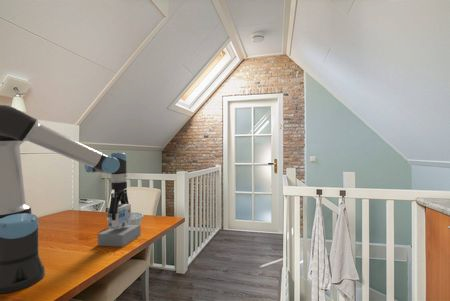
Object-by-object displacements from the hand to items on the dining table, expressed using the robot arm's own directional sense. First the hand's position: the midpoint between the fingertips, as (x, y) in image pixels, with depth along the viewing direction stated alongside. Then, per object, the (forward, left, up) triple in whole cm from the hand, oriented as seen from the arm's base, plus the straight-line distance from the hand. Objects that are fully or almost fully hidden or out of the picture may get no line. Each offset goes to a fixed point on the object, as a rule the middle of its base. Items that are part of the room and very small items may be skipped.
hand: (119, 222), depth 124 cm
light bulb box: (0, 0, -2) cm, 2 cm away
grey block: (0, 0, -9) cm, 9 cm away
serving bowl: (+22, +6, -9) cm, 25 cm away
